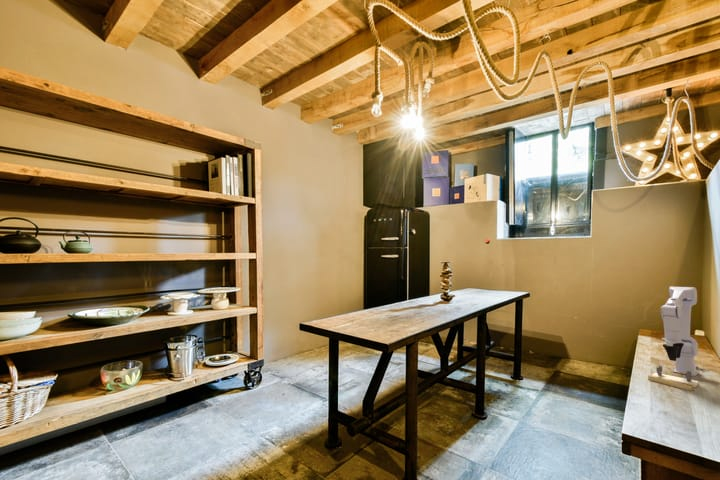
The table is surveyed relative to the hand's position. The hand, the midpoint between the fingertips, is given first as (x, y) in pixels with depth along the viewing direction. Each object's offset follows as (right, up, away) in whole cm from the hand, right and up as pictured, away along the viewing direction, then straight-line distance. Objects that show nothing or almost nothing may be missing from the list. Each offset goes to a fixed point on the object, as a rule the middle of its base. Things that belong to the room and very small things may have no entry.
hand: (674, 359), depth 153 cm
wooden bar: (-10, -9, -8) cm, 15 cm away
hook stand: (-3, -9, -3) cm, 10 cm away
